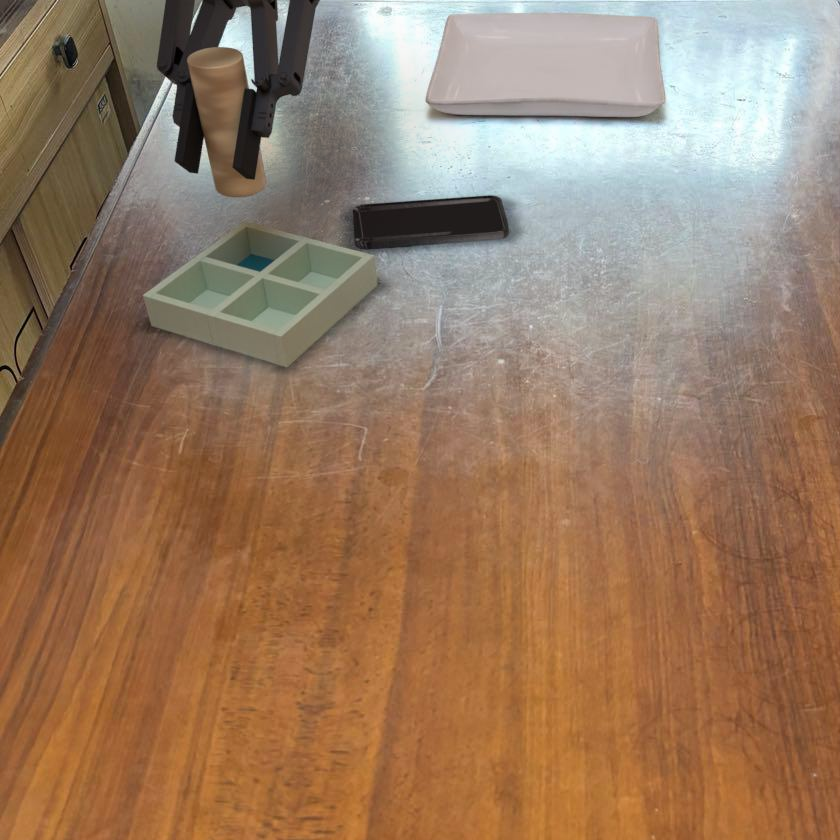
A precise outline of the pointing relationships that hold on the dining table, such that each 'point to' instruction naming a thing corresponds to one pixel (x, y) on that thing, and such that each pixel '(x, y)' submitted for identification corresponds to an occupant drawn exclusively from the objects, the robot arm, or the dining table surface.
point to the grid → (262, 292)
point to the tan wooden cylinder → (223, 116)
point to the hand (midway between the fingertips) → (215, 170)
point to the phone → (429, 222)
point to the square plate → (548, 65)
